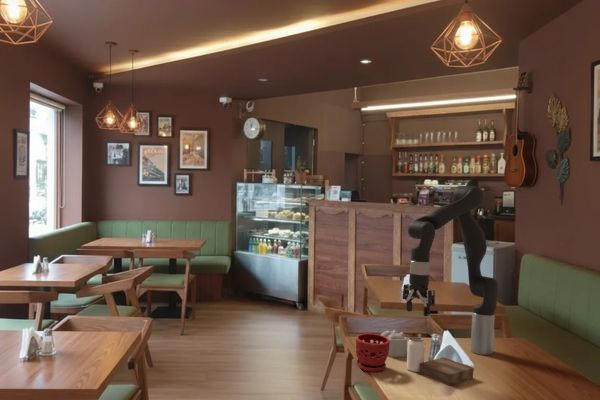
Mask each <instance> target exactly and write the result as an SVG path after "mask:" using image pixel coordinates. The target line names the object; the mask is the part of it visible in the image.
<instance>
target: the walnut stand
mask: <svg viewBox="0 0 600 400" xmlns="http://www.w3.org/2000/svg"><path fill="white" fill-rule="evenodd" d="M418 374H419V375H422V376H424V377H427V378H430V379H432V380H434V381H437V382H440V383H441V384H444V385H446V386H452V385H453V386H454V385H456V384H459V383H463V382H466V381H469V380H472V379H474V367H472V366H469V365H466V364H463V363H461V362H457V361H455V360H452V359H450V358H447V357H445V356H444V357H440V358H436V359H431V360H428V361H424V362H423V363H420V372H418Z"/></svg>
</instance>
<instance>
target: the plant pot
mask: <svg viewBox="0 0 600 400" xmlns="http://www.w3.org/2000/svg"><path fill="white" fill-rule="evenodd" d="M371 341H373V342H371ZM381 341H382V342H383V343H382V344H380V342H381ZM389 344H390V341H389V339H388V338H387V337H385V336H382V335H381V334H378V333H370V332H369V333H361V334H358V335H357V336H356V337H355V354H356V358H357V359H356V361H355V364H356V366H357V367H358V368H359V369H361V370H363V371H366V372H373V373H374V372H380V371H383V370H384V369H386V366H387V364H386V361H387V359H388V352H389Z"/></svg>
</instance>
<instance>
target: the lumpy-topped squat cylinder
mask: <svg viewBox="0 0 600 400" xmlns="http://www.w3.org/2000/svg"><path fill="white" fill-rule="evenodd" d="M380 335H382V336H385V337H387V338H388V339H389V341H390V344H389V352H388V356H387V358H388V357H389V358H396V357H399V358H405V357H407V350H408V338H407V336H406V334H405V333H404V332H402V331H401V332H398V331H397V330H395V329H392V330H391V331H390V330H389V329H388V330H386V331H384V332H381V334H380ZM382 343H383V342H382V341H381V342H380V344H382Z"/></svg>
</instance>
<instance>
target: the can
mask: <svg viewBox="0 0 600 400" xmlns="http://www.w3.org/2000/svg"><path fill="white" fill-rule="evenodd" d="M425 345H426V344H425V342H424V339H423V338H422V337H418V336H411V337H409V338H408V340H407V355H406V357H407V358H406V369H407V370H408V371H410V372H414V373H420V363H423V362H425V348H426V347H425Z"/></svg>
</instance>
